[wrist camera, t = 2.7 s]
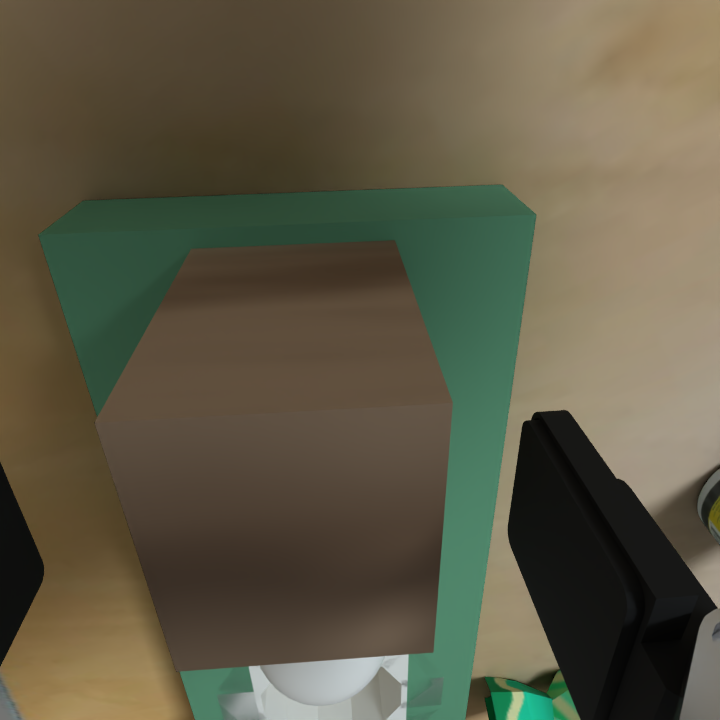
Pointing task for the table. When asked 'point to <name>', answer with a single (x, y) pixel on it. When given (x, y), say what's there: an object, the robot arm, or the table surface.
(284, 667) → the ball
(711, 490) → the supplement bottle
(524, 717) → the candy
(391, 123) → the table surface
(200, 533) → the block
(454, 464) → the board
